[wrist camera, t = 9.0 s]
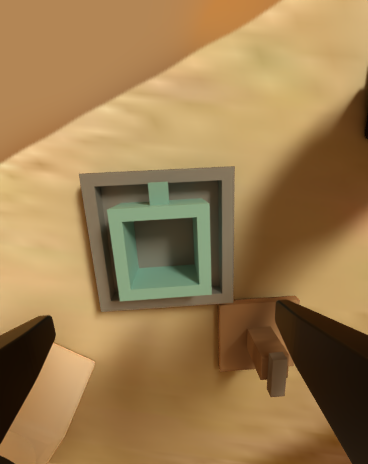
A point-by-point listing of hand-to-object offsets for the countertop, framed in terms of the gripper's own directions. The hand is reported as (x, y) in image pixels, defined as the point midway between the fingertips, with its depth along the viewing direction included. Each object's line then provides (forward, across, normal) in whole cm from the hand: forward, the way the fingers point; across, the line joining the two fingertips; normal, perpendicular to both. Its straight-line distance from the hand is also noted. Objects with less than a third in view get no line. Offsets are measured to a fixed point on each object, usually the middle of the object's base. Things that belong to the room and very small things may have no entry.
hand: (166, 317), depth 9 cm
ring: (+11, 0, 0) cm, 11 cm away
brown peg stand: (+12, -8, +11) cm, 18 cm away
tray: (+12, +1, 0) cm, 12 cm away
